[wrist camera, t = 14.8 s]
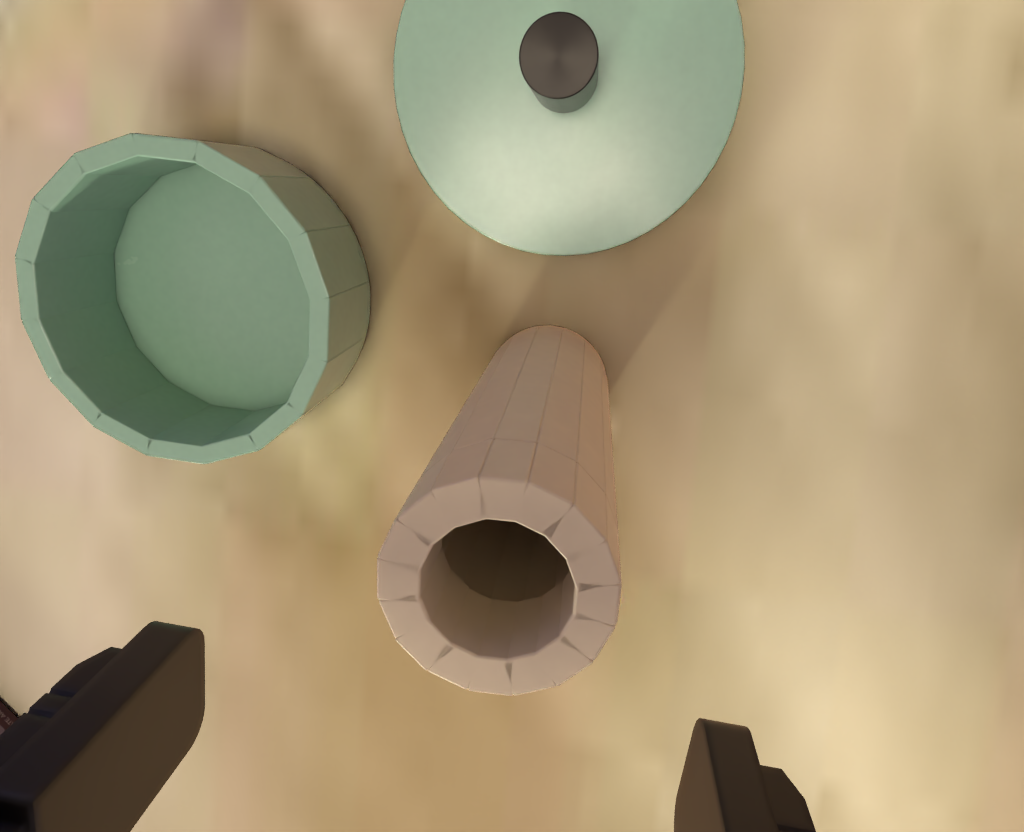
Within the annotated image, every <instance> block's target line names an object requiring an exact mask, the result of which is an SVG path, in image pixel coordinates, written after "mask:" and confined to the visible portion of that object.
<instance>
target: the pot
mask: <svg viewBox="0 0 1024 832" xmlns="http://www.w3.org/2000/svg"><path fill="white" fill-rule="evenodd" d="M15 257H16V258H15V262H16V272H17V282H18V292H19V302H20V312H21V319H22V320H23V321H22V323H23V325H24V327H25V329H26V331H27V333H28V336H29V338H30V340H31V342H32V344H33V346H34V348H35V351H36V353H37V355H38V357H39V359H40V361H41V363H42V365H43V368H44V370H45V372H46V374H47V376H48V378H49V379H50V381H51V382H52V383H53V384H54V385H55V386H56V387H57V388H58V389H59V390H60V392H61V393H62V394H63V395H64V396H65V397H66V398H67V399H68V400H69V401H70V402H71V403H72V404H73V405H74V406H75V407H76V409H77V410H78V411H79V412H80V413H81V414H82V415H83V416H84V417H85V418H86V419H87V420H88V421H89V422H90V423H91V424H92V425H94V426H93V427H95V428H97V429H99V430H100V431H102V432H104V433H106V434H108V435H110V436H112V437H113V438H115V439H117V440H119V441H121V442H123V443H124V444H126V445H128V446H130V447H132V448H134V449H136V450H137V451H139V452H141V453H143V454H145V455H148V456H152V457H159V458H166V459H173V460H180V461H186V462H193V463H200V464H209V463H212V462H216V461H220V460H224V459H228V458H232V457H236V456H240V455H244V454H248V453H252V452H256V451H259V450H261V449H262V448H264V447H265V446H266V445H267V444H269V443H270V442H271V441H273V440H274V439H275V438H276V437H278V436H279V435H280V434H282V433H283V432H284V431H285V430H287V429H288V428H289V427H290V426H292V425H293V424H294V423H296V422H297V421H298V420H299V419H301V418H302V417H303V416H305V415H306V414H307V413H308V412H310V411H311V410H312V409H313V408H314V407H316V406H317V405H318V404H319V403H321V402H322V401H323V400H324V399H325V398H327V397H328V396H329V395H330V394H332V393H333V392H334V391H335V390H336V389H338V388H339V387H340V386H341V385H342V384H343V383H344V381H345V379H346V377H347V375H348V374H349V373H350V371H351V369H352V368H353V366H354V364H355V363H356V361H357V359H358V357H359V354H360V352H361V349H362V347H363V344H364V341H365V337H366V333H367V330H368V325H369V316H370V285H369V278H368V271H367V267H366V264H365V260H364V256H363V253H362V250H361V248H360V245H359V243H358V240H357V238H356V235H355V233H354V232H353V230H352V228H351V226H350V224H349V223H348V221H347V219H346V217H345V216H344V214H343V213H342V212H341V210H340V209H339V207H338V206H337V205H336V203H335V202H334V201H333V200H332V198H331V197H330V196H329V195H328V194H327V193H326V192H325V191H324V190H323V189H322V188H321V187H320V186H319V185H318V184H317V183H316V182H315V181H313V180H312V179H311V178H310V177H309V176H308V175H306V174H305V173H304V172H302V171H301V170H299V169H298V168H296V167H294V166H293V165H291V164H290V163H288V162H286V161H284V160H282V159H280V158H278V157H276V156H274V155H272V154H269V153H267V152H265V151H263V150H261V149H260V148H256V147H249V146H241V145H233V144H225V143H217V142H209V141H200V140H192V139H183V138H175V137H166V136H157V135H149V134H140V133H130V134H127V135H124V136H121V137H119V138H116V139H113V140H110V141H107V142H105V143H102V144H99V145H96V146H93V147H90V148H88V149H85V150H82V151H79V152H76V153H74V155H73V156H71V158H70V159H69V160H68V161H67V162H66V163H65V164H64V165H63V166H62V167H61V168H60V169H59V171H58V172H57V173H56V174H55V175H54V176H53V177H52V178H51V179H50V180H49V181H48V183H47V184H46V185H45V186H44V187H43V188H42V189H41V190H40V191H39V192H38V193H37V194H36V196H35V197H34V198H33V199H32V201H31V205H30V208H29V211H28V215H27V218H26V221H25V225H24V228H23V231H22V235H21V238H20V241H19V245H18V248H17V251H16V255H15Z"/></svg>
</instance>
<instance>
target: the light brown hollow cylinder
mask: <svg viewBox="0 0 1024 832" xmlns="http://www.w3.org/2000/svg"><path fill="white" fill-rule="evenodd" d="M621 587H622V582H621V567H620V552H619V538H618V521H617V506H616V492H615V478H614V463H613V449H612V434H611V420H610V405H609V391H608V379H607V376H606V372H605V367H604V365H603V362H602V360H601V358H600V356H599V354H598V352H597V351H596V350H595V348H594V347H593V346H592V345H591V344H590V343H589V342H588V341H587V340H586V339H585V338H583V337H582V336H581V335H579V334H577V333H576V332H574V331H571V330H569V329H566V328H563V327H559V326H552V325H542V326H535V327H531V328H527V329H525V330H522V331H520V332H518V333H516V334H515V335H513V336H512V337H510V338H509V339H508V340H507V341H506V342H505V343H504V344H503V345H502V346H501V347H500V348H499V349H498V350H497V351H496V353H495V354H494V356H493V358H492V359H491V361H490V363H489V364H488V366H487V368H486V369H485V371H484V373H483V374H482V376H481V378H480V379H479V381H478V383H477V384H476V386H475V388H474V389H473V391H472V393H471V394H470V396H469V398H468V399H467V401H466V403H465V404H464V406H463V407H462V409H461V411H460V412H459V414H458V416H457V417H456V419H455V421H454V422H453V424H452V426H451V427H450V429H449V431H448V432H447V434H446V436H445V437H444V439H443V441H442V442H441V444H440V446H439V447H438V449H437V451H436V452H435V454H434V456H433V457H432V459H431V460H430V462H429V464H428V465H427V467H426V469H425V470H424V472H423V474H422V475H421V477H420V479H419V480H418V482H417V484H416V485H415V487H414V489H413V490H412V492H411V494H410V495H409V497H408V499H407V500H406V502H405V504H404V505H403V507H402V509H401V510H400V512H399V513H398V515H397V517H396V518H395V520H394V522H393V524H392V526H391V529H390V531H389V533H388V535H387V537H386V539H385V541H384V543H383V545H382V547H381V550H380V552H379V554H378V558H377V597H378V599H379V603H380V605H381V608H382V610H383V612H384V614H385V617H386V619H387V621H388V624H389V626H390V628H391V630H392V633H393V635H394V636H395V637H396V641H397V642H398V643H399V644H400V645H401V646H402V647H403V648H404V649H405V650H406V651H407V652H408V653H409V654H410V655H411V656H412V657H413V658H414V659H415V660H416V661H417V662H418V663H419V664H420V665H421V666H422V667H423V668H424V669H425V670H428V671H429V672H430V673H433V674H435V675H437V676H439V677H441V678H443V679H445V680H447V681H449V682H451V683H453V684H455V685H458V686H460V687H462V688H464V689H468V688H469V690H470V691H475V692H483V693H491V694H500V695H508V696H512V695H513V694H514V695H521V694H525V693H530V692H534V691H539V690H543V689H548V688H552V687H555V686H556V685H557V686H559V685H561V684H562V683H564V682H565V681H567V680H568V679H570V678H571V677H573V676H574V675H576V674H577V673H579V672H580V671H582V670H583V669H585V668H586V667H588V666H589V665H591V664H592V663H593V660H595V659H596V657H597V656H598V654H599V653H600V651H601V649H602V648H603V646H604V645H605V643H606V641H607V640H608V638H609V637H610V635H611V634H612V632H613V630H614V629H615V624H616V623H617V621H618V613H619V605H620V596H621Z"/></svg>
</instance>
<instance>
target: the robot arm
mask: <svg viewBox="0 0 1024 832" xmlns="http://www.w3.org/2000/svg"><path fill="white" fill-rule="evenodd" d="M204 710H205V642H204V635H203V632H202V631H201V630H200V629H196V628H191V627H185V626H180V625H174V624H169V623H163V622H158V621H154V622H151V623H149V624H148V625H147V626H145V627H144V628H143V629H142V630H141V631H140V632H139V633H138V634H137V635H136V636H135V637H134V638H133V639H132V640H131V641H130V642H129V643H128V644H127V645H126V646H125V647H124V648H123V649H119V648H114V647H110V648H108V649H106V650H104V651H102V652H100V653H99V654H97V655H95V656H93V657H91V658H89V659H87V660H85V661H83V662H81V663H79V664H77V665H76V666H75V667H74V668H73V669H72V670H71V671H69V672H68V673H67V674H66V675H65V676H64V677H63V678H62V679H61V680H60V681H59V682H57V683H56V684H55V685H54V686H53V687H52V688H51V691H50V693H49V694H48V693H45V694H44V695H43V696H42V697H41V698H40V699H39V700H38V701H37V702H36V703H35V704H33V705H32V706H31V707H30V709H29V712H28V713H27V714H26V713H24V714H23V715H21V716H20V717H19V718H18V719H17V720H16V721H15V722H14V723H13V724H12V725H11V726H9V727H8V728H7V729H6V730H5V731H4V732H3V733H2V734H1V735H0V832H130V831H131V830H132V828H133V827H134V825H135V824H136V823H137V821H138V820H139V819H140V817H141V816H142V814H143V813H144V812H145V810H146V809H147V808H148V806H149V805H150V803H151V802H152V801H153V799H154V798H155V796H156V795H157V794H158V792H159V791H160V790H161V788H162V787H163V785H164V784H165V783H166V781H167V780H168V779H169V777H170V776H171V774H172V773H173V772H174V770H175V769H176V768H177V766H178V765H179V763H180V762H181V761H182V759H183V758H184V757H185V755H186V754H187V752H188V751H189V750H190V748H191V747H192V745H193V743H194V741H195V739H196V737H197V735H198V733H199V730H200V727H201V724H202V720H203V716H204ZM674 832H816V831H815V828H814V825H813V822H812V819H811V816H810V813H809V810H808V807H807V804H806V801H805V799H804V797H803V796H802V795H801V794H800V792H799V791H798V790H797V788H796V787H795V786H794V785H793V783H792V782H791V781H790V779H789V778H788V777H787V776H786V774H785V773H784V772H783V770H782V769H779V768H773V767H768V766H762V765H760V764H759V760H758V756H757V753H756V749H755V746H754V742H753V739H752V735H751V732H750V730H749V729H748V728H747V727H745V726H740V725H734V724H729V723H723V722H718V721H712V720H707V719H701V718H699V719H698V720H697V721H696V723H695V726H694V729H693V733H692V737H691V741H690V745H689V749H688V753H687V757H686V761H685V765H684V769H683V773H682V777H681V781H680V785H679V789H678V793H677V798H676V805H675V816H674Z"/></svg>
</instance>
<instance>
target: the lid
mask: <svg viewBox="0 0 1024 832" xmlns="http://www.w3.org/2000/svg"><path fill="white" fill-rule="evenodd" d="M743 77H744V36H743V28H742V20H741V15H740V11H739V7H738V3H737V0H406V1H405V4H404V7H403V9H402V13H401V17H400V21H399V26H398V30H397V34H396V42H395V51H394V91H395V99H396V107H397V112H398V116H399V120H400V124H401V128H402V132H403V135H404V137H405V140H406V143H407V145H408V148H409V150H410V153H411V155H412V157H413V159H414V161H415V163H416V165H417V167H418V169H419V170H420V172H421V174H422V176H423V177H424V179H425V180H426V181H427V183H428V184H429V186H430V187H431V189H432V190H433V191H434V193H435V194H436V195H437V196H438V197H439V198H440V200H441V201H442V202H443V203H444V204H445V205H446V206H447V207H448V208H449V209H450V210H451V211H452V212H453V213H454V214H455V215H457V216H458V217H459V218H460V219H461V220H462V221H464V222H465V223H466V224H467V225H469V226H470V227H472V228H474V229H475V230H477V231H478V232H480V233H481V234H483V235H484V236H486V237H489V238H491V239H493V240H495V241H497V242H499V243H501V244H503V245H506V246H509V247H512V248H515V249H518V250H521V251H526V252H531V253H536V254H542V255H556V256H570V255H582V254H590V253H594V252H599V251H603V250H608V249H611V248H613V247H616V246H619V245H622V244H624V243H627V242H630V241H632V240H634V239H635V238H637V237H639V236H641V235H643V234H645V233H647V232H649V231H650V230H652V229H653V228H655V227H656V226H658V225H659V224H661V223H662V222H664V221H665V220H666V219H668V218H669V217H670V216H671V215H672V214H674V213H675V212H676V211H677V210H678V209H679V208H680V207H681V206H683V205H684V204H685V203H686V202H687V201H688V199H689V198H690V197H691V196H692V195H693V194H694V193H695V191H696V190H697V189H698V188H699V187H700V186H701V184H702V183H703V182H704V180H705V179H706V177H707V176H708V174H709V173H710V171H711V170H712V168H713V167H714V166H715V164H716V162H717V160H718V158H719V156H720V154H721V152H722V150H723V148H724V147H725V145H726V143H727V140H728V137H729V135H730V132H731V129H732V127H733V124H734V121H735V118H736V114H737V110H738V106H739V102H740V98H741V93H742V85H743Z"/></svg>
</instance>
